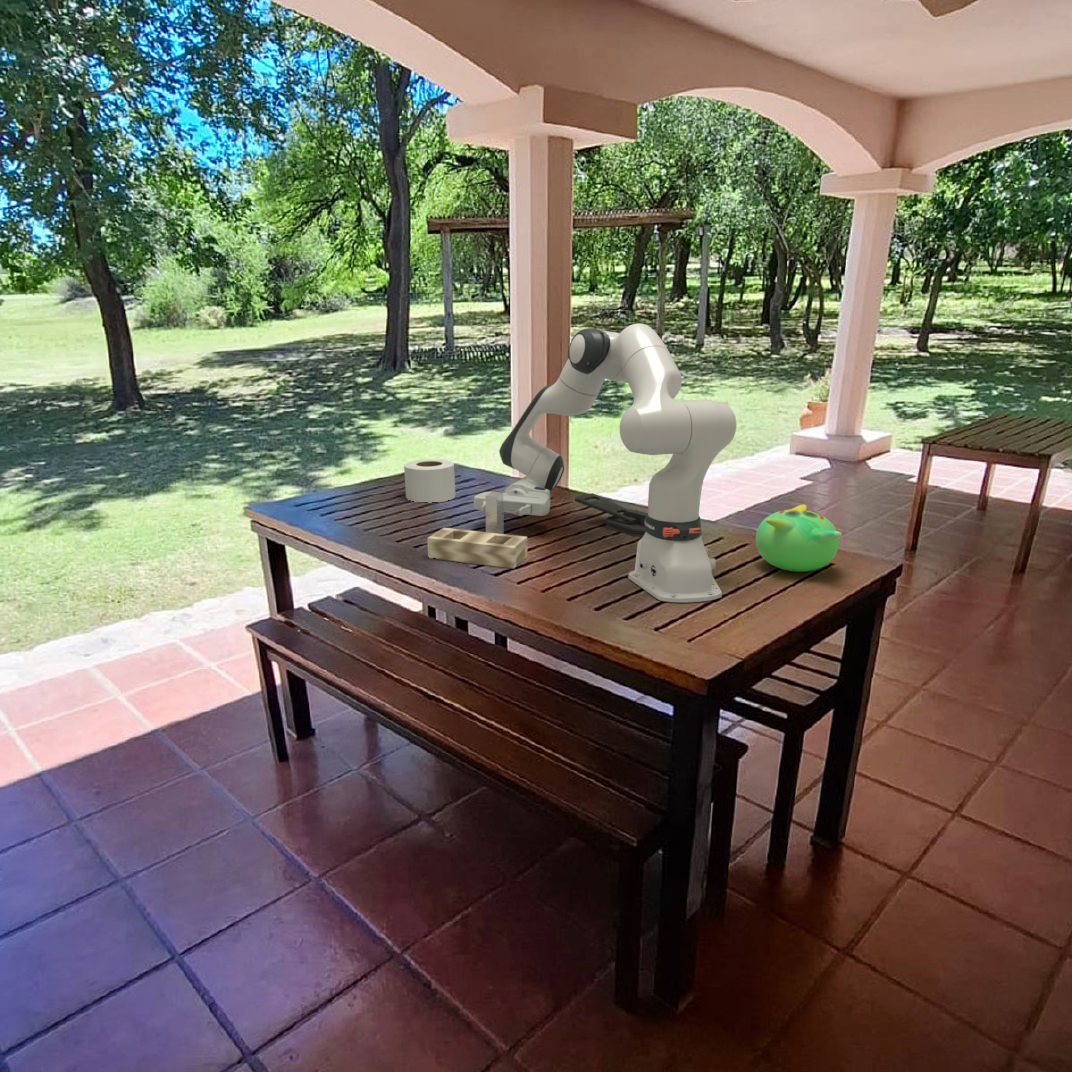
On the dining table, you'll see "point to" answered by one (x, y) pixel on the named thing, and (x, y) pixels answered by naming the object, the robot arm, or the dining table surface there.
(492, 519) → the grey square pillar
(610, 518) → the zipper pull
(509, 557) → the hollow cinder block
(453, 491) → the toilet paper roll
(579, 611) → the dining table surface
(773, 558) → the toy bird
